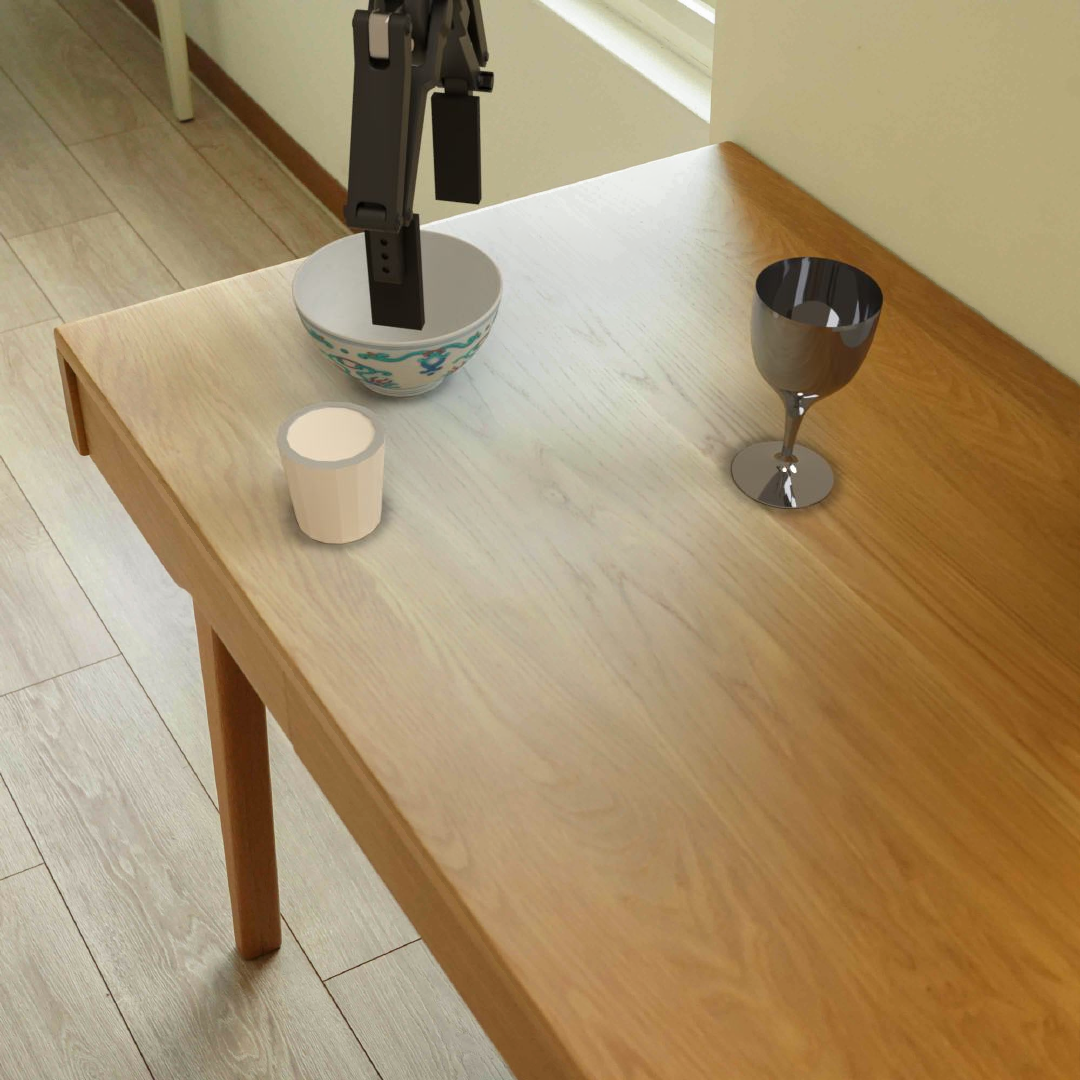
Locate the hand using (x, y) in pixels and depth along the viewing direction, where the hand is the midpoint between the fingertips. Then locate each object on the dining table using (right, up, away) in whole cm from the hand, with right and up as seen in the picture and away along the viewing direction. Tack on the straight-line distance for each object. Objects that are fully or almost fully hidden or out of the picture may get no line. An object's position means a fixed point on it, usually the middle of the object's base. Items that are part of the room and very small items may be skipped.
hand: (430, 258), depth 77 cm
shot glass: (-7, -14, +13) cm, 21 cm away
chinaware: (-4, -3, +25) cm, 26 cm away
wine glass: (+23, -12, +17) cm, 31 cm away
